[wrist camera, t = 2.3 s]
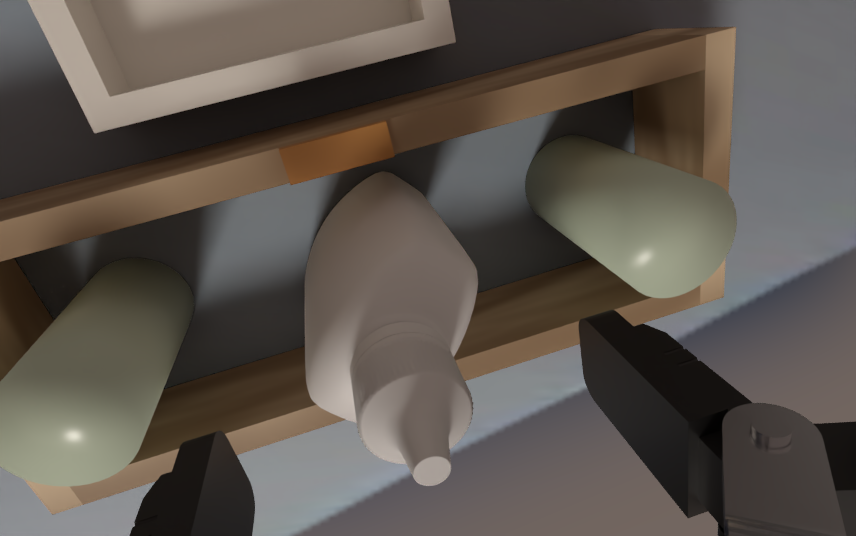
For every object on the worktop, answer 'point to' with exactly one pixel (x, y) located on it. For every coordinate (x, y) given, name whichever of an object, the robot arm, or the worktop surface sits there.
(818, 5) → the worktop surface
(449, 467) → the eye dropper bottle
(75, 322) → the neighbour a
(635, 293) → the rack
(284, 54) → the tray
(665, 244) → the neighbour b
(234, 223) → the worktop surface
